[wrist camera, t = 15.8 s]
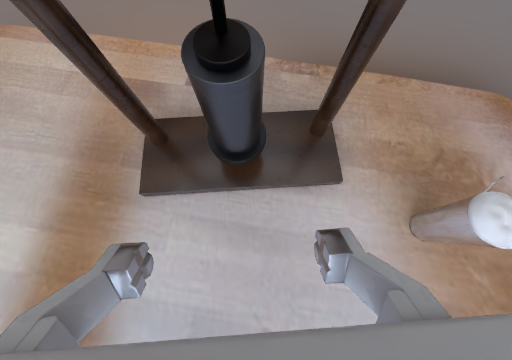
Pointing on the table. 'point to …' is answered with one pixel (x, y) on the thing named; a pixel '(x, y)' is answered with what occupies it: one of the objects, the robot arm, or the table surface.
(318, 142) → the rack
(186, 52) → the dark cylindrical piece
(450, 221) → the milkshake
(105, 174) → the table surface
